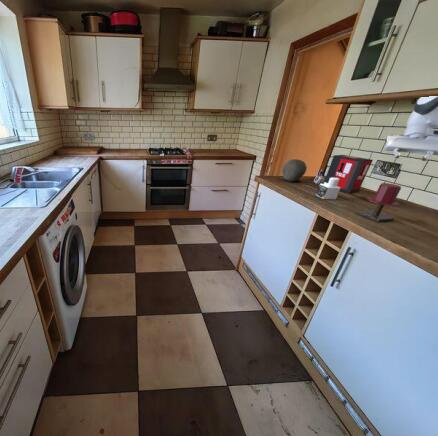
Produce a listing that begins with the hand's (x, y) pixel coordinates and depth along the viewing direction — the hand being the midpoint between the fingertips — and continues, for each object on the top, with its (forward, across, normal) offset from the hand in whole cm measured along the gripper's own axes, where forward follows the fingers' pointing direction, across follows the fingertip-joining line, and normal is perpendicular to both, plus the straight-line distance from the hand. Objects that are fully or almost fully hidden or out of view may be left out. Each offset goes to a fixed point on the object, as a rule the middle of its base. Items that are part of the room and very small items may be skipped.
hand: (410, 158), depth 109 cm
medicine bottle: (+20, -26, +16) cm, 36 cm away
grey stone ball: (+2, -47, +34) cm, 58 cm away
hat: (+27, -6, -2) cm, 28 cm away
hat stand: (+33, -6, +3) cm, 33 cm away
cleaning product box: (0, -19, +36) cm, 41 cm away
